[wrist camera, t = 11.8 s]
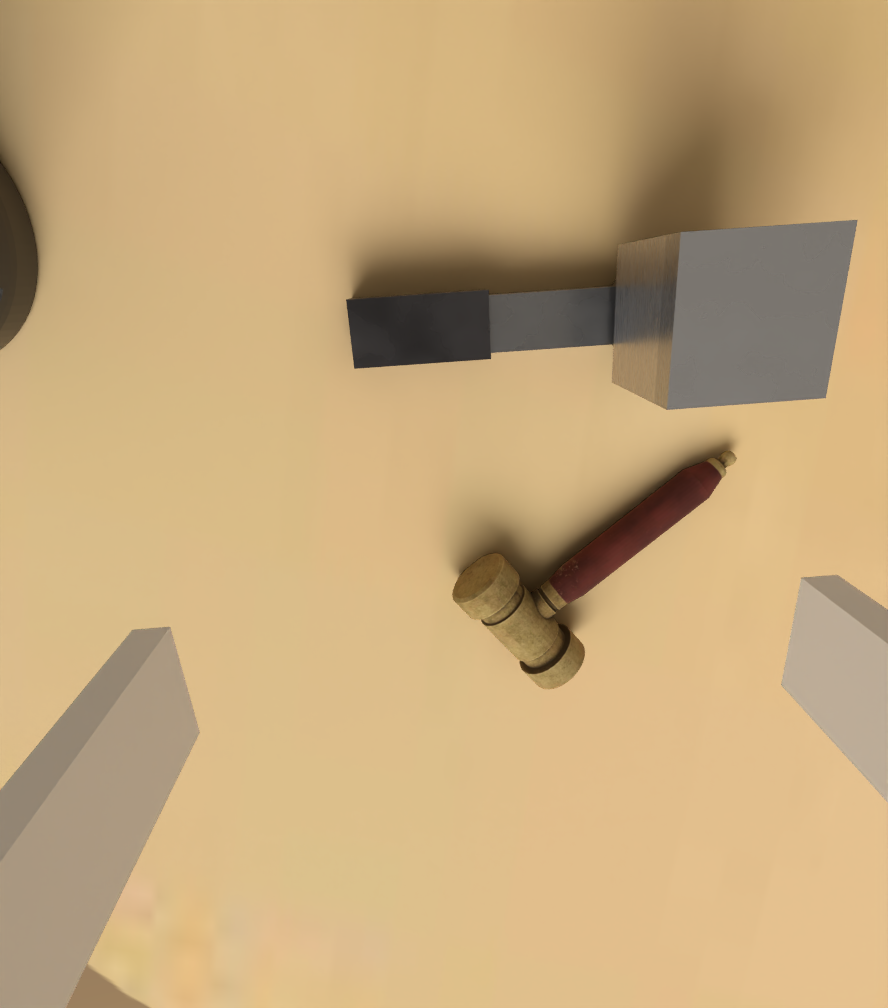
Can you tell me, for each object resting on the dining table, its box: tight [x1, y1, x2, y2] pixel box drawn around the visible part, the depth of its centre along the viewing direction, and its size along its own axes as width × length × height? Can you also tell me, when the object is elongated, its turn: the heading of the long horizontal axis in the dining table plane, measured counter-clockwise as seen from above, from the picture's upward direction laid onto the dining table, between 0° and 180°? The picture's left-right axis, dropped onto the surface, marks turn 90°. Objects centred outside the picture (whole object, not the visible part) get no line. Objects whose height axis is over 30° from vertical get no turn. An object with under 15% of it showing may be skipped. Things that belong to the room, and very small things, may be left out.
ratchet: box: [346, 279, 616, 369], centre depth 32 cm, size 22×7×8 cm, turn 93°
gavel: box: [452, 451, 737, 689], centre depth 40 cm, size 21×5×10 cm
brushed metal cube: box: [612, 220, 857, 410], centre depth 29 cm, size 8×8×8 cm
